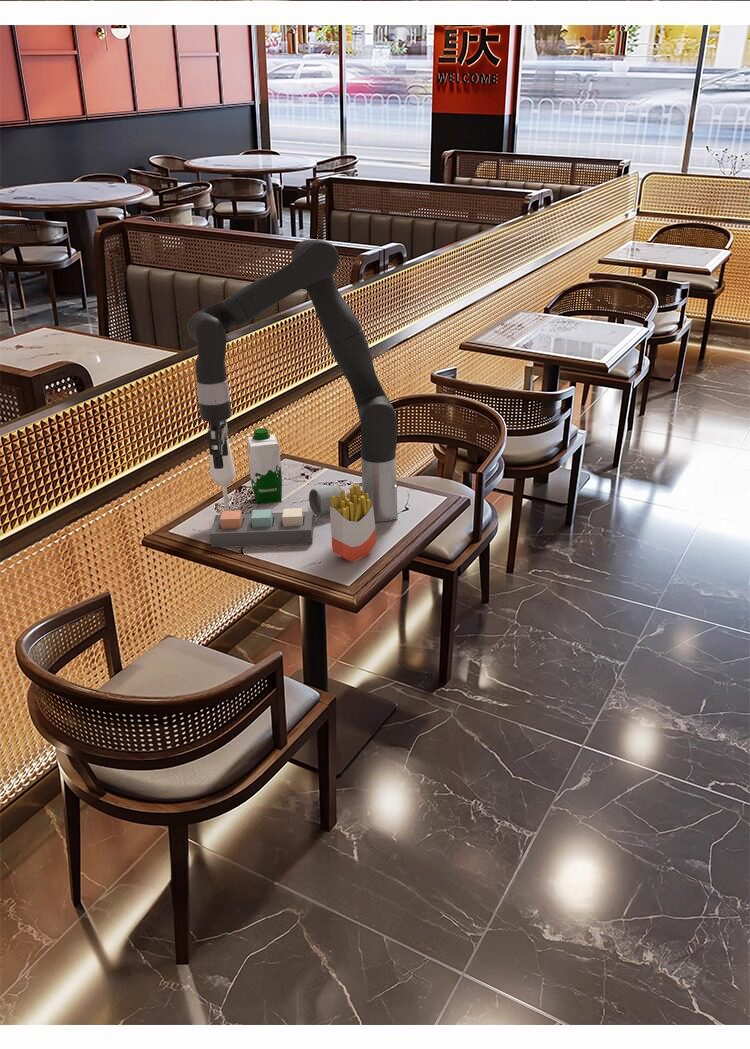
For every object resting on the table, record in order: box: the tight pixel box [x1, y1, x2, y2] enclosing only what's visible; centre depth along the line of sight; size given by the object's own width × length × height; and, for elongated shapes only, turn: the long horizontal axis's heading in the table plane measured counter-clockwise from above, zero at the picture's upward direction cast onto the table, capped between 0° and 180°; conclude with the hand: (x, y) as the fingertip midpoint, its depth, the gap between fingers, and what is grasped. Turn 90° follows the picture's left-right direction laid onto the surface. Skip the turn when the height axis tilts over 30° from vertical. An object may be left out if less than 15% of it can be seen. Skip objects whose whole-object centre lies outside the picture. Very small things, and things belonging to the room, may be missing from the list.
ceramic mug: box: [308, 484, 343, 517], centre depth 238 cm, size 11×8×8 cm
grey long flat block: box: [209, 510, 315, 548], centre depth 226 cm, size 26×11×4 cm, turn 92°
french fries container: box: [329, 483, 377, 563], centre depth 211 cm, size 5×11×18 cm, turn 133°
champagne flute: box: [209, 435, 236, 515], centre depth 232 cm, size 7×7×24 cm
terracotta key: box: [220, 509, 243, 529], centre depth 224 cm, size 5×5×3 cm
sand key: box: [282, 507, 304, 526], centre depth 224 cm, size 5×5×3 cm
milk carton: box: [247, 427, 283, 505], centre depth 244 cm, size 9×9×20 cm
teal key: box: [251, 508, 274, 528], centre depth 224 cm, size 5×5×3 cm
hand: (221, 461), depth 212 cm, fingers open, 8 cm apart
